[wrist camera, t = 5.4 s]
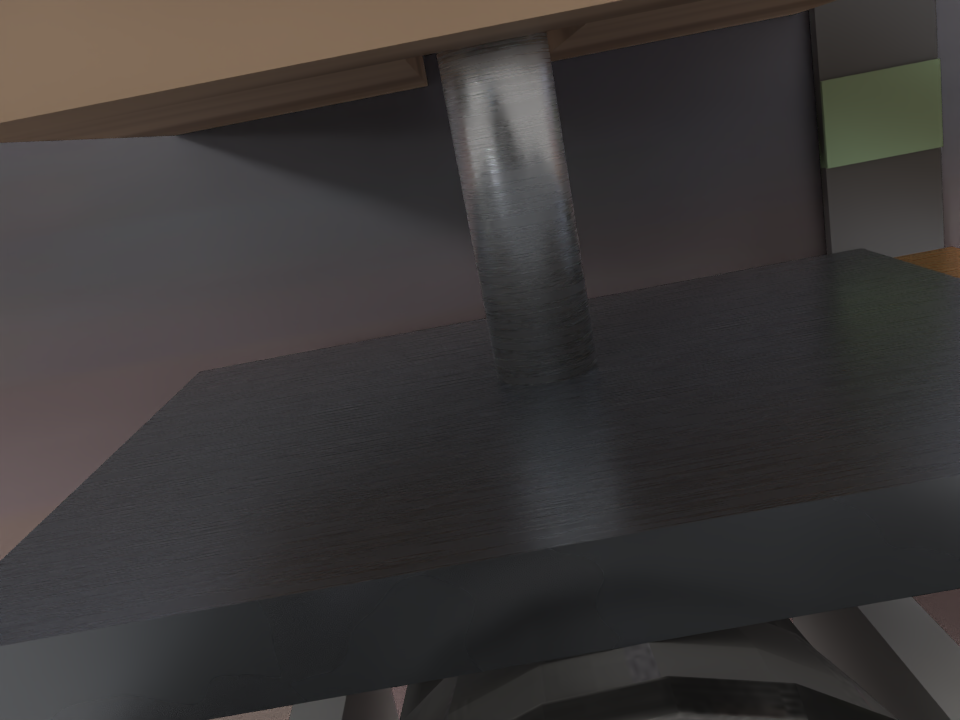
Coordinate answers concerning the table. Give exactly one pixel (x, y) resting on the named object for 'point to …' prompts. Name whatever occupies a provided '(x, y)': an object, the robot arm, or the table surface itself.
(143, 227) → the table surface
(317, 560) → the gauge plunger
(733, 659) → the beverage cup
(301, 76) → the brown boxy piece
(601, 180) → the table surface
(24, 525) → the table surface
